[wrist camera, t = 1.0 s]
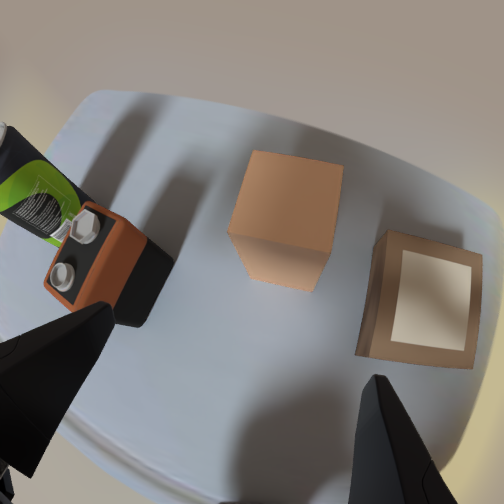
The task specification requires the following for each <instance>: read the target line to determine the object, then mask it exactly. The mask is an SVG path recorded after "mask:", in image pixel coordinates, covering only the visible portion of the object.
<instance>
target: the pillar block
mask: <svg viewBox="0 0 504 504" xmlns="http://www.w3.org/2000/svg"><path fill="white" fill-rule="evenodd" d="M343 168H344V166H343V165H338V164H333V163H328V162H323V161H318V160H313V159H307V158H302V157H296V156H290V155H284V154H278V153H271V152H264V151H257V150H253V152H252V155H251V158H250V161H249V164H248V167H247V170H246V173H245V176H244V179H243V182H242V186H241V189H240V192H239V195H238V198H237V201H236V205H235V208H234V211H233V214H232V218H231V221H230V224H229V227H228V231H227V233H228V235H229V237H230V239H231V241H232V243H233V245H234V247H235V249H236V250H237V252H238V254H239V256H240V258H241V260H242V262H243V264H244V266H245V268H246V270H247V272H248V274H249V276H250V278H251V279H254V280H259V281H263V282H268V283H272V284H277V285H281V286H286V287H290V288H295V289H299V290H304V291H309V292H312V291H313V289H314V287H315V285H316V283H317V281H318V279H319V277H320V275H321V273H322V271H323V269H324V267H325V265H326V263H327V261H328V258H329V256H330V254H331V250H332V244H333V238H334V232H335V226H336V219H337V213H338V206H339V199H340V192H341V184H342V176H343Z"/></svg>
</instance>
